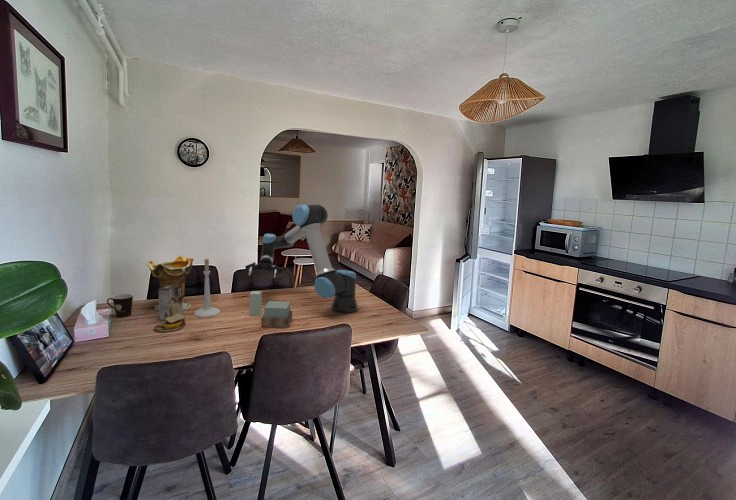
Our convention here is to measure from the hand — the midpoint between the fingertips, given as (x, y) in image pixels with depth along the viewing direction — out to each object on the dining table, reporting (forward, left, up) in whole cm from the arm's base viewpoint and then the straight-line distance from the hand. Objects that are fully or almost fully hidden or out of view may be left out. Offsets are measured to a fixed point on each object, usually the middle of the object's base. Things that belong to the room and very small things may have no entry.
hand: (262, 274), depth 200 cm
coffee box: (+42, +17, -21) cm, 50 cm away
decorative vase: (+49, 0, -21) cm, 53 cm away
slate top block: (-12, +19, -16) cm, 28 cm away
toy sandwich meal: (+36, +30, -21) cm, 51 cm away
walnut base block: (-12, +19, -21) cm, 31 cm away
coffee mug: (+67, +16, -21) cm, 72 cm away
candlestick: (+27, +9, -21) cm, 35 cm away
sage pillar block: (+2, +7, -21) cm, 22 cm away
